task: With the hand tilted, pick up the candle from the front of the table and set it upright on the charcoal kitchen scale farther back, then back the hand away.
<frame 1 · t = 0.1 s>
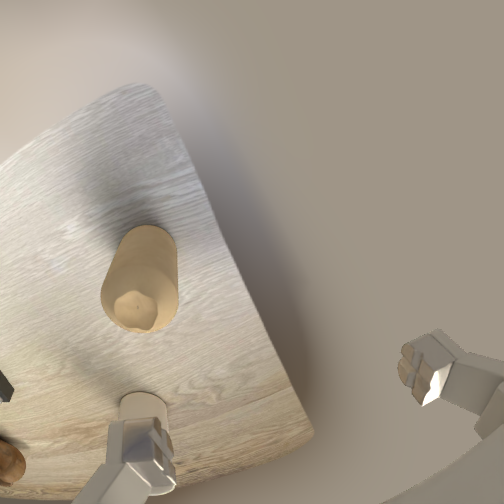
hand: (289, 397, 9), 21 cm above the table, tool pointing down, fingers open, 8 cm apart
candle: (148, 251, 28), on the table
mug: (147, 412, 36), on the table
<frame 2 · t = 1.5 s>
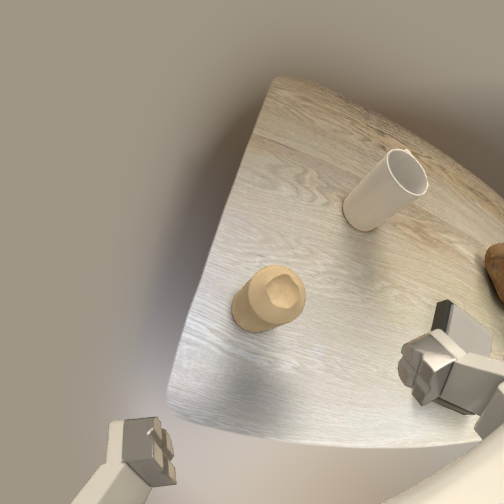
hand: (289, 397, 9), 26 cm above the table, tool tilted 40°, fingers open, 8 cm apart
scale: (453, 361, 41), on the table
bowl: (495, 280, 50), on the table
candle: (254, 309, 36), on the table
mug: (362, 205, 45), on the table
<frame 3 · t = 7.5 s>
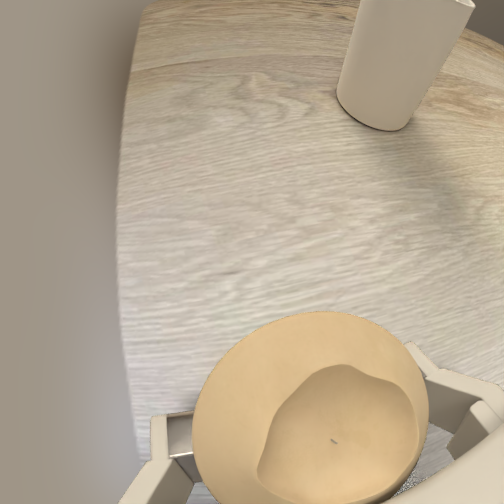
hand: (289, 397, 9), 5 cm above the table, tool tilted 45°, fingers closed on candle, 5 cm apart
candle: (274, 398, 14), on the table, touching gripper
mug: (368, 92, 22), on the table
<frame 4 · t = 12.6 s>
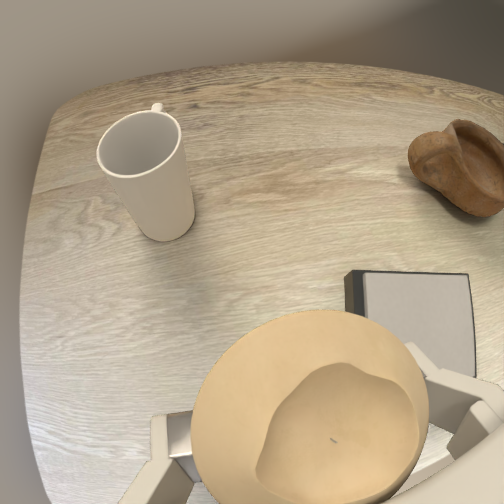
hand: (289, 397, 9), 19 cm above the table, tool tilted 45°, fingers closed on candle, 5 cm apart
scale: (411, 347, 28), on the table
bowl: (448, 186, 36), on the table
candle: (273, 398, 14), point 14 cm above the table, touching gripper
mug: (169, 202, 33), on the table
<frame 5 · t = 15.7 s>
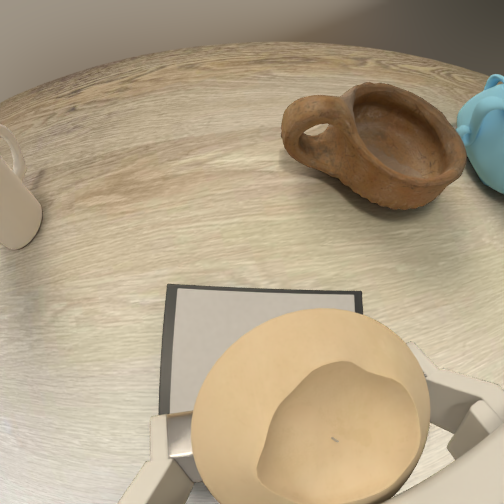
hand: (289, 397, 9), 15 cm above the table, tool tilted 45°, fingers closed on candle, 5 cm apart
scale: (262, 388, 23), on the table
bowl: (360, 171, 31), on the table
candle: (274, 397, 14), point 10 cm above the table, touching gripper
mug: (26, 210, 27), on the table
decorative pot: (489, 162, 34), on the table
when the fingers open (9 cm above the table, at t = 18.0 s): candle stays where it is, resting on scale.
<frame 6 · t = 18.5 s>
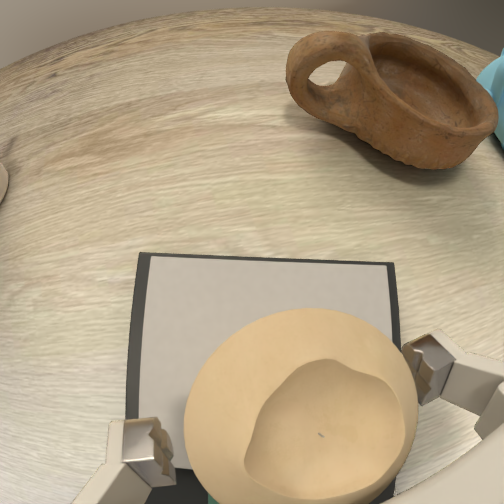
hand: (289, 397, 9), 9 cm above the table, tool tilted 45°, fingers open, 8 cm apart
scale: (265, 393, 17), on the table
bowl: (377, 130, 25), on the table
candle: (269, 396, 14), point 3 cm above the table, touching scale
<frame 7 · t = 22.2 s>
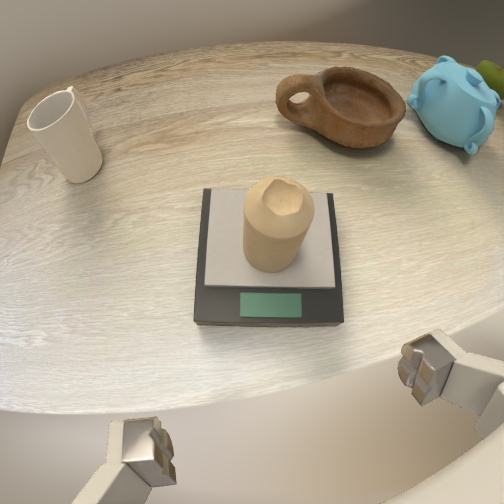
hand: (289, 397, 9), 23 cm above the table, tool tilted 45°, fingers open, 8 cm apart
apple: (483, 95, 53), on the table
scale: (268, 259, 35), on the table
bowl: (332, 128, 43), on the table
candle: (269, 248, 32), point 3 cm above the table, touching scale
mug: (87, 157, 40), on the table
decorative pot: (442, 124, 46), on the table
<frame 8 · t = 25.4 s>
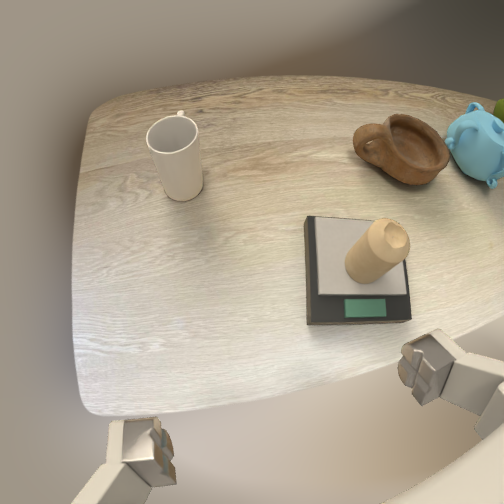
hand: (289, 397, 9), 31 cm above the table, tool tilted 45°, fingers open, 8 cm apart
apple: (499, 128, 62), on the table
scale: (355, 273, 44), on the table
bowl: (390, 164, 52), on the table
candle: (362, 265, 41), point 3 cm above the table, touching scale
mug: (185, 177, 48), on the table
decorative pot: (468, 160, 55), on the table
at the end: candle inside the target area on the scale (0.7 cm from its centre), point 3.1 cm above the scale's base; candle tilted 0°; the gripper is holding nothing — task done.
